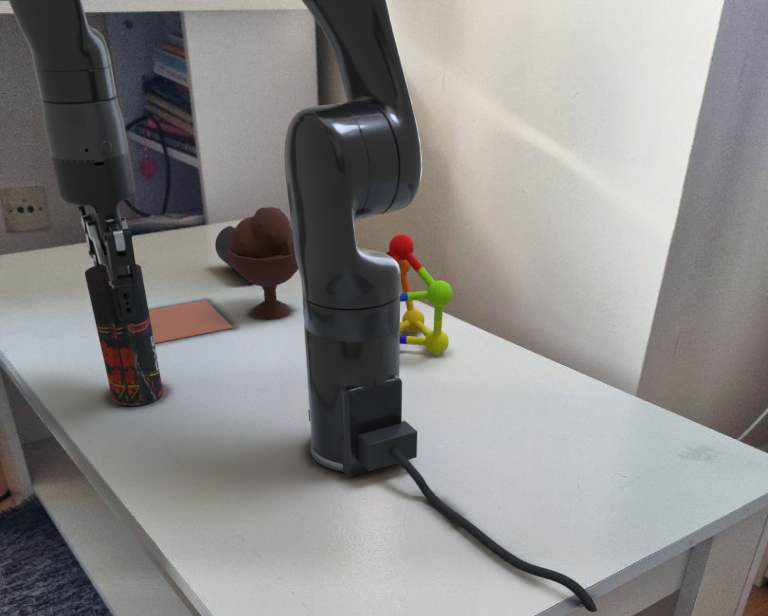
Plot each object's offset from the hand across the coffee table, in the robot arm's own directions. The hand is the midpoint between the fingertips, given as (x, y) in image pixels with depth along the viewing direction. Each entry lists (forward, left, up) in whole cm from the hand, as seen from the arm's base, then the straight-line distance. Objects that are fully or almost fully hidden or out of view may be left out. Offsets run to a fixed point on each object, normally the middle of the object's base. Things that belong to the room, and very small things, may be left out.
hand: (121, 309), depth 90 cm
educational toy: (-3, -34, -11) cm, 36 cm away
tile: (+20, -11, -11) cm, 25 cm away
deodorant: (0, 0, -11) cm, 11 cm away
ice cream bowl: (+17, -24, -11) cm, 31 cm away
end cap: (+34, -27, -11) cm, 45 cm away
